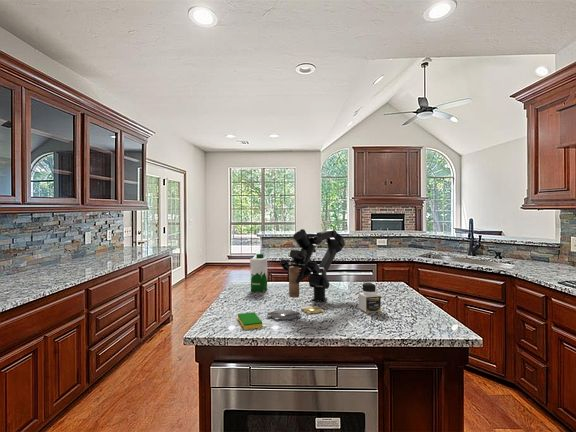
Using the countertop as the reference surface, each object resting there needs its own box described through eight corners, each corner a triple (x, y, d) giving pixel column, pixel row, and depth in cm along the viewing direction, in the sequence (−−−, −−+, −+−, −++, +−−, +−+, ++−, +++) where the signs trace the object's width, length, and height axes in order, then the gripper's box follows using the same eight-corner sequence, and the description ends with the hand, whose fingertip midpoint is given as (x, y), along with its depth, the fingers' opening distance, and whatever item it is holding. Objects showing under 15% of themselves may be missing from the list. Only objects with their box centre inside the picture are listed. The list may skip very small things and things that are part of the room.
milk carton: (269, 288, 191) (268, 253, 191) (263, 292, 182) (262, 256, 182) (254, 288, 193) (254, 253, 193) (248, 291, 185) (248, 255, 185)
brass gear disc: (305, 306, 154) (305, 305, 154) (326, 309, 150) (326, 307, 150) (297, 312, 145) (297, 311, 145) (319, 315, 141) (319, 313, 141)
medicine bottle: (366, 313, 144) (366, 285, 144) (358, 308, 151) (358, 282, 151) (381, 311, 146) (380, 284, 146) (372, 307, 153) (372, 281, 153)
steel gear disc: (275, 309, 151) (275, 307, 151) (305, 312, 145) (305, 311, 145) (260, 318, 137) (260, 316, 137) (292, 323, 132) (292, 321, 132)
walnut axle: (296, 294, 151) (295, 265, 151) (301, 296, 147) (300, 267, 147) (287, 295, 149) (287, 266, 148) (292, 298, 145) (291, 268, 144)
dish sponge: (254, 317, 141) (254, 311, 140) (262, 328, 127) (262, 322, 127) (237, 319, 138) (237, 313, 138) (244, 330, 125) (244, 324, 125)
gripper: (281, 242, 156) (267, 269, 147) (316, 243, 145) (303, 273, 136) (291, 256, 163) (278, 283, 154) (325, 259, 152) (313, 288, 143)
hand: (292, 282), depth 146 cm, fingers closed on walnut axle, 4 cm apart
